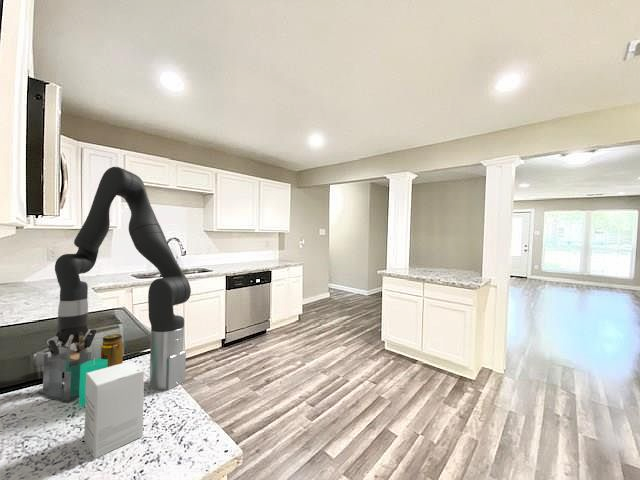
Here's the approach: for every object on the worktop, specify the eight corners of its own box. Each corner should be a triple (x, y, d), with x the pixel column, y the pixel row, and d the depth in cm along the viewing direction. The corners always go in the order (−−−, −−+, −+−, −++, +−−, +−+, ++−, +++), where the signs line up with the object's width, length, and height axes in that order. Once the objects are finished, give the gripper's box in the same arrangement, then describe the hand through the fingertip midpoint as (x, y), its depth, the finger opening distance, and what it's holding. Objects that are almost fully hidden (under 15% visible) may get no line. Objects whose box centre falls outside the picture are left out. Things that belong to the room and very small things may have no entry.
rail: (89, 370, 92) (91, 357, 92) (77, 375, 89) (78, 361, 89) (62, 359, 98) (64, 346, 97) (50, 363, 94) (51, 349, 94)
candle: (90, 408, 74) (92, 362, 74) (72, 405, 75) (74, 360, 75) (112, 396, 79) (113, 353, 80) (95, 393, 81) (96, 352, 81)
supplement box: (130, 420, 69) (132, 359, 69) (143, 436, 63) (145, 370, 63) (82, 440, 62) (85, 371, 62) (93, 460, 56) (95, 384, 56)
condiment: (94, 373, 93) (95, 337, 94) (119, 363, 101) (120, 330, 102) (108, 377, 91) (109, 340, 91) (133, 367, 99) (134, 333, 99)
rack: (90, 393, 81) (91, 352, 81) (64, 404, 75) (65, 360, 75) (60, 384, 86) (62, 345, 86) (34, 394, 80) (36, 352, 80)
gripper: (53, 319, 86) (51, 375, 85) (103, 309, 99) (101, 358, 98) (39, 316, 88) (37, 371, 88) (89, 307, 101) (88, 355, 101)
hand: (71, 364), depth 93 cm, fingers closed on rail, 3 cm apart
